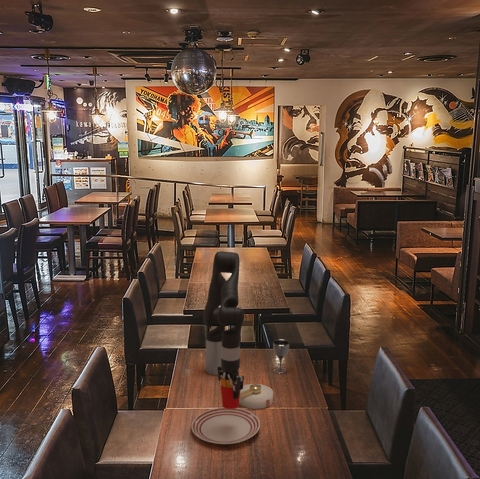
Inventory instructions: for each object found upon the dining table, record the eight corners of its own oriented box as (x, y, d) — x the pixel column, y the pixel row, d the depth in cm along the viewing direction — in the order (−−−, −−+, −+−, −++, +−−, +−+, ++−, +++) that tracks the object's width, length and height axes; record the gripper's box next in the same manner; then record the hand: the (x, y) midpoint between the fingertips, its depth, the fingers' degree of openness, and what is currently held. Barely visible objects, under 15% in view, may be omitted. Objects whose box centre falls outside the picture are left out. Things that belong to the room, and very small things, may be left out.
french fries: (240, 403, 218) (241, 376, 216) (240, 408, 214) (240, 380, 212) (220, 403, 218) (220, 375, 216) (219, 408, 214) (219, 380, 212)
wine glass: (269, 368, 273) (270, 340, 270) (283, 366, 276) (284, 338, 273) (277, 374, 266) (278, 346, 263) (291, 372, 269) (292, 343, 266)
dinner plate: (198, 455, 198) (198, 446, 198) (186, 418, 224) (186, 410, 224) (269, 444, 206) (269, 436, 205) (249, 410, 232) (249, 403, 231)
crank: (255, 387, 242) (255, 374, 241) (263, 391, 239) (263, 377, 238) (229, 398, 232) (229, 383, 231) (236, 402, 229) (236, 387, 228)
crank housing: (230, 399, 241) (230, 390, 240) (256, 388, 251) (256, 380, 250) (254, 413, 228) (254, 404, 228) (281, 401, 239) (281, 393, 238)
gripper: (249, 359, 209) (249, 399, 212) (226, 348, 220) (226, 386, 223) (235, 364, 204) (234, 405, 207) (211, 353, 215) (211, 391, 218)
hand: (230, 395), depth 215 cm, fingers closed on french fries, 6 cm apart
